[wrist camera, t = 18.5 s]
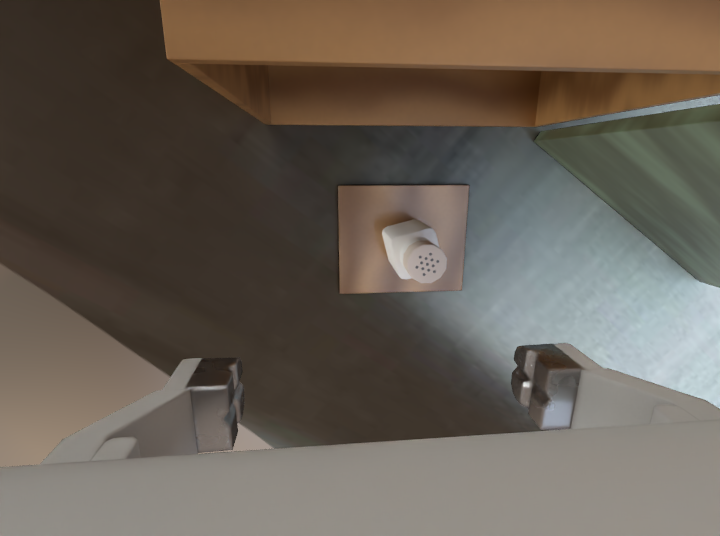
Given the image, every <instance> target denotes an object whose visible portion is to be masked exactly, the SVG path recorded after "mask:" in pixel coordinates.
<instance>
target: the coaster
mask: <svg viewBox="0 0 720 536" xmlns="http://www.w3.org/2000/svg"><path fill="white" fill-rule="evenodd" d="M468 198H469V185H339V186H338V213H339V281H340V294H353V293H388V292H423V291H458V290H462V282H463V268H464V254H465V240H466V226H467V212H468ZM413 219H416V220H419V221H421V222H423V223H425V224H426V225H428V226H430V227H431V228H433V230H434V231H435V232H436V236H437V239H438V244H439V248H441V249H442V250H443V252H444V254H445V256H446V258H447V266H446V270H445V272H444V273H443V275H442V276H441V278H439V279H438V280H436V281H434V282H432V283H419V282H418V281H416V280H414V279H407V280H406V279H401V278H400V277H399V276H398V274H397V273H396V271H395V270H394V268H393V267H392V265H391V264H390V262H389V260H388V256H387V252H386V248H385V244H384V240H383V236H382V231H383V229H384V228H385V227H387V226H391V225H395V224H398V223H402V222H406V221H409V220H413Z"/></svg>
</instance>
